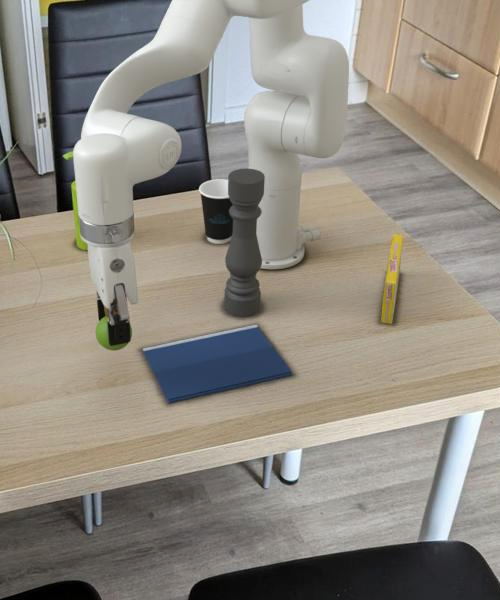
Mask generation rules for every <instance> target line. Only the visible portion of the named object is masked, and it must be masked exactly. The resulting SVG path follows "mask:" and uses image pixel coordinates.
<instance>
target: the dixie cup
mask: <svg viewBox="0 0 500 600" xmlns="http://www.w3.org/2000/svg"><path fill="white" fill-rule="evenodd" d="M198 191H199V193H200V199H201V207H202V216H203V222H204V223H203V224H204V231H205V232H204V233H205V236H206V239H207V241H208V242H210V243H211V244H215V245H222V244H227V243H230V241H231V237H232V234H233V218H232V217H231V216H230V213H229V209H230V208H231V207H232V206H233V205H232V202H231V201H230V197H229V196H228V179H224V178H217V179H216V178H215V179H210V180H206V181H205V182H203V183H201V184H200V185H199V188H198Z"/></svg>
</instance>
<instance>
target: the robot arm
mask: <svg viewBox="0 0 500 600" xmlns="http://www.w3.org/2000/svg"><path fill="white" fill-rule="evenodd" d="M309 1H310V0H171V2H170V4H169V6H168V8H167V11H166V13H165V14H164V16H163V19H162V21H161V23H160V25H159V28H158V29H157V31H156V34H155V35H154V37H153V38H152V39H151V41H149V42H148V43H146V44H145V45H144V46H142V47H141V48H139V49H138V50H136V51H135V52H134V53H132V54H130V55H129V56H128V57H127V58H126V59H124V60H123V61H122V62H121V63H119V65H117V66H116V67H115V68H114V69H113V70H112V71H111V72H110V73H109V74H108V75H107V76H106V77H105V79H104V80H103V81H102V83H100V85H99V87H98V90H97V91H96V94H95V96H94V98H93V100H92V102H91V104H90V106H89V108H88V111H87V113H86V115H85V118H84V120H83V124H82V127H81V132H80V139H79V140H78V141H77V142H76V143H75V145H74V147H73V150H72V151H73V159H72V160H73V169H74V170H73V171H74V181H76V192H77V203H78V215H79V225H80V236H81V239H82V240H83V241H84V242H85V243H87V244H88V250H87V255H88V256H87V258H88V265H89V274H90V278H91V281H92V283H93V285H94V288H95V290H96V296H97V297H96V298H97V299H96V306H97V317H98V319H97V320H98V322H99V321H100V320H101V319H102V318H103V317H105V316H106V315H105V310H104V306H105V307H106V308H108V315H109V322H107V326H108V339H109V344H110V346H114V345H119V344H124V343H128V342H129V343H130V342H131V340H132V337H131V335H130V325H131V321H130V320H131V319H130V317H131V316H130V312H129V306H128V304H130V305H136V304H137V303H138V302H139V294H138V283H137V274H136V264H135V258H134V251H133V247H132V242H131V240H132V239H133V238H134V237H135V233H136V232H135V231H136V230H135V214H134V213H135V211H134V192H133V191H134V190H133V189H134V186H135V185H136V184H140V183H143V182H146V181H149V180H153V179H156V178H159V177H162V176H163V175H166V173H168V172H169V171H171V170H172V169H173V168H174V166H175V165H176V164H177V163H178V161H179V159H180V156H181V153H182V147H183V145H182V140H181V137H180V135H179V133H178V131H177V130H176V129H175V128H173V127H172V125H171V126H170V125H169V124H167V123H165V122H162V121H158V120H154V119H150V118H145V117H143V116H139V115H134V114H130V113H128V112H129V111H130V109H131V108H132V106H133V105H134V104H135V102H136V101H137V100H138V99H140V98H141V97H142V96H143V95H145V94H147V93H149V91H151V90H153V89H156V88H158V87H160V86H163V85H165V84H169V83H172V82H176V81H179V80H183V79H185V78H190V77H192V76H196V75H198V74H201V73H203V72H204V71H206V70H207V69H208V67H209V66H210V64H211V63H212V60H213V58H214V55H215V53H216V51H217V49H218V46H219V44H220V42H221V40H222V38H223V36H224V34H225V32H226V30H227V27H228V25H229V23H230V21H231V19H232V18H233V17H243V18H248V24H249V27H248V28H249V50H250V51H249V52H250V53H249V55H250V68H251V75H252V78H253V81H254V82H255V84H256V85H258V86H259V87H261V88H264V89H266V90H264V91H260V92H259V93H256V94H255V95H254V96H252V97H251V98H250V100H249V101H248V103H247V104H246V107H245V109H244V114H243V126H244V133H245V138H246V144H247V155H248V156H247V157H248V167H247V168H248V169H255V170H258V171H261V172H262V173H263V174H264V176H265V181H264V195H263V197H262V200H261V201H260V203H259V205H258V206H259V207H260V208H261V211H262V213H261V215H260V217H259V218H258V219H257V231H256V235H257V239H258V244H259V249H260V253H261V258H262V265H261V267H260V269H262V270H283V269H288V268H290V267H293V266H295V265H297V264H299V263H300V262H302V260H303V259H304V258H305V257H304V256H305V246H304V245H305V244H307V242H313V241H317V240H318V241H319V240H321V239H322V232H321V230H320V229H315V230H314V229H313V230H310V229H309V226H307V225H305V226H301V227H299V218H300V217H299V215H300V205H301V204H300V203H301V189H302V175H303V170H302V168H303V167H302V164H301V159H300V156H299V155H302V156H306V157H311V158H316V159H328V158H331V157H333V156H334V155H336V154H337V153H338V152H339V151H340V149H341V147H342V145H343V143H344V140H345V136H346V132H347V125H348V107H349V106H348V105H349V104H348V103H349V102H348V101H349V81H350V75H349V74H350V62H349V55H348V52H347V50H346V48H345V47H344V45H343V44H342V43H340V41H338V40H336V39H333V38H330V37H324V36H319V35H311V34H309V33H307V32H306V31H305V27H304V12H303V11H304V9H303V7H304V5H303V4H305V3H307V2H309ZM114 299H116V302H113V300H114ZM128 302H129V303H128ZM114 308H118V314H115V315H113V309H114ZM129 343H128V344H129Z"/></svg>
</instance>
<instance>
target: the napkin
mask: <svg viewBox="0 0 500 600" xmlns="http://www.w3.org/2000/svg"><path fill="white" fill-rule="evenodd" d="M141 350H142V353H143V355H144V357H145V359H146V360H147V362H148V364H149V367H150V369H151V371H152V372H153V374H154V376H155V379H156V381H157V382H158V384H159V387H160V389H161V391H162V393H163V394H164V397H165V398H166V400H167V402H168V404H173V403H176V402H181V401H186V400H189V399H190V400H191V399H194V398H199V397H203V396H207V395H213V394H216V393H221V392H226V391H230V390H235V389H238V388H243V387H247V386H253V385H257V384H262V383H265V382H270V381H274V380H279V379H282V378H287V377H291V376H292V375H293V374H292V370H291V369H290V368H289V366H288V365H287V363H286V362H285V361H284V359H283V358H282V356H281V355H280V354H279V352H278V351H277V349H276V348H275V347H274V346H272V345H271V343H270V341H269V340H268V339H267V337H266V336H265V335H264V333H263V332H262V331H261V329H260V328H259V325H257V323H255V324H249V325H245V326H241V327H235V328H232V329H231V328H230V329H226V330H221V331H217V332H212V333H208V334H202V335H198V336H193V337H189V338H184V339H180V340H179V339H178V340H175V341H170V342H166V343H160V344H155V345H150V346H147V347H142V348H141Z"/></svg>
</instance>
